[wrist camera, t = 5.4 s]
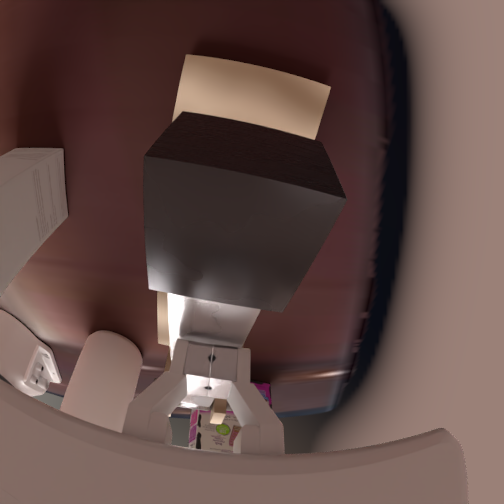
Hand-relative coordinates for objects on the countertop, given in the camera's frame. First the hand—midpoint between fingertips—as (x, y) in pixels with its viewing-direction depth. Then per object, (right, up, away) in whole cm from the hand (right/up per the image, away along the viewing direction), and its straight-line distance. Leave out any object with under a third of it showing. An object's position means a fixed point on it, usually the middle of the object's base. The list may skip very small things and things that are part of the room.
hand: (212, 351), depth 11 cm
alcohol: (-18, -10, +23) cm, 31 cm away
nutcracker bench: (-1, +5, +13) cm, 14 cm away
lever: (-1, +1, +6) cm, 6 cm away
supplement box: (-19, +11, +9) cm, 24 cm away
